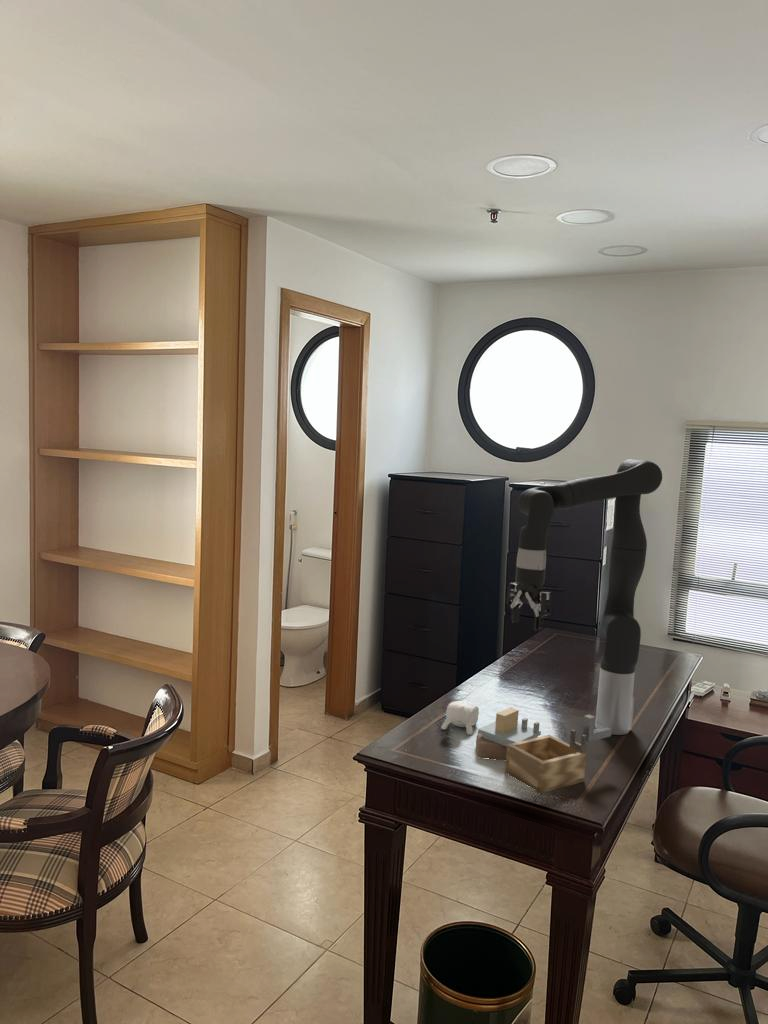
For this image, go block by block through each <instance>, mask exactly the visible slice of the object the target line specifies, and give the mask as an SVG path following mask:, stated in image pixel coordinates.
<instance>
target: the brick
mask: <svg viewBox="0 0 768 1024" xmlns="http://www.w3.org/2000/svg"><path fill="white" fill-rule="evenodd" d="M538 737H539V736H538ZM538 737H536V738H538ZM475 747H476V754H477V753H478V754H477V757H478V758H479V757H480V758H479V759H482V758H489V759H488V760H493V759H496V760H495V761H504V760H506V753H507V747H506V746H504V745H501V744H498V743H495V742H493V741H490V740H487V739H484V738H483V734H480V733H478V732H477V735H476V739H475Z"/></svg>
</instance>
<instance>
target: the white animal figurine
mask: <svg viewBox="0 0 768 1024" xmlns="http://www.w3.org/2000/svg"><path fill="white" fill-rule="evenodd" d="M479 709H480V708H479V706H477V705H474V704H472V703H471V702H469V701H464V700H459V701H457V700H456V701H452V702H449V703H448V705H447V707H446V711H445V713H446V714H445V717H446V719H445V720H444V721H443V723H442V725H441V726H440V728H441V730H444V731H446V730H447V729H448V727H449V726H450V725H452V724H453V725H454V726H457V727H460V728H466V734H467V735H468V736H472V735H473V733H474V732H473V731H474V730H473V727H472V726H475V725H477V723H478V721H479V714H480V711H479Z"/></svg>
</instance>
